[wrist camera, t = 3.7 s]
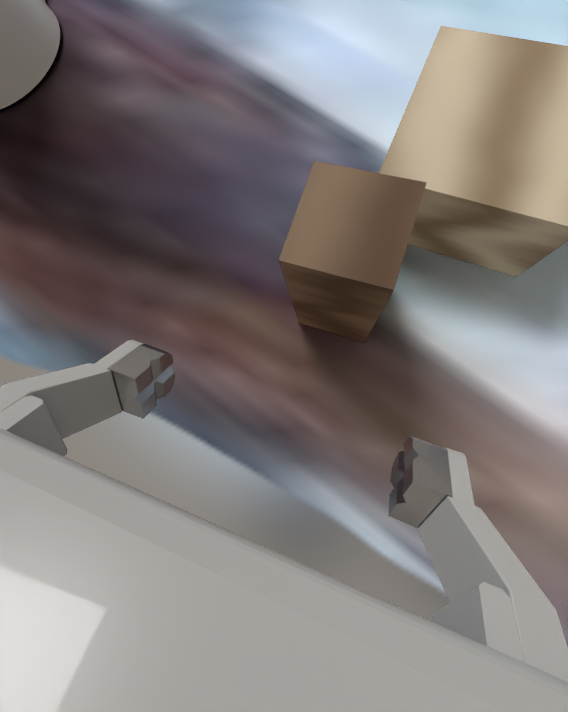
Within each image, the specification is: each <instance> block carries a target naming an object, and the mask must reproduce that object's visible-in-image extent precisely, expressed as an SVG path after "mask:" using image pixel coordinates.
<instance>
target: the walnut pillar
mask: <svg viewBox="0 0 568 712" xmlns="http://www.w3.org/2000/svg"><path fill="white" fill-rule="evenodd" d="M426 183H427V182H422V181H417V180H412V179H406V178H401V177H396V176H391V175H385V174H380V173H375V172H369V171H364V170H359V169H354V168H348V167H343V166H338V165H333V164H327V163H322V162H317V161H314V163H313V166H312V169H311V171H310V174H309V177H308V180H307V183H306V185H305V188H304V191H303V194H302V196H301V199H300V202H299V205H298V208H297V210H296V213H295V216H294V219H293V221H292V224H291V227H290V230H289V233H288V235H287V238H286V241H285V244H284V247H283V249H282V252H281V255H280V258H279V263H280V266H281V269H282V272H283V275H284V279H285V282H286V285H287V288H288V291H289V294H290V297H291V300H292V303H293V306H294V309H295V312H296V315H297V318H298V321H299V323H300V324H303V325H307V326H310V327H313V328H317V329H320V330H324V331H327V332H330V333H334V334H337V335H341V336H344V337H347V338H351V339H354V340H358V341H361V342H365V341H366V339H367V337H368V335H369V334H370V332H371V330H372V328H373V326H374V325H375V323H376V321H377V319H378V317H379V316H380V314H381V312H382V310H383V308H384V307H385V305H386V303H387V301H388V299H389V298H390V296H391V294H392V292H393V290H394V287H395V284H396V281H397V278H398V274H399V271H400V268H401V265H402V261H403V258H404V255H405V252H406V248H407V245H408V242H409V239H410V235H411V232H412V229H413V225H414V222H415V219H416V216H417V212H418V209H419V206H420V203H421V199H422V196H423V193H424V190H425V186H426Z"/></svg>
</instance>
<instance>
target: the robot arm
mask: <svg viewBox="0 0 568 712" xmlns="http://www.w3.org/2000/svg"><path fill="white" fill-rule="evenodd" d="M59 43H60V27H59V23H58V20H57V18H56V16H55V14H54V13H53V12H52V11H51V9H50V8H49V7H48V6H47V4H46V2H45V0H0V109H2V108H5V107H7V106H9V105H11V104H13V103H14V102H16V101H18V100H19V99H21V98H22V97H24V96H25V95H26V94H27V93H29V92H30V91H31V90H32V89H33V88H34V87H35V86H36V85H37V84H38V83H39V82H40V81H41V80H42V78H43V77H44V76H45V74H46V73H47V72H48V70H49V68H50V67H51V65H52V63H53V61H54V59H55V57H56V54H57V51H58V47H59ZM172 363H173V357H172V355H171V354H170V353H168V352H165V351H163V350H160V349H157V348H155V347H152V346H149V345H147V344H143V343H141V342H138V341H135V340H128V341H126V342H125V343H124V344H122V345H121V346H119V347H118V348H116V349H115V350H113V351H112V352H111V353H109V354H108V355H106V356H105V357H103V358H102V359H100V360H99V361H98V362H96V363H95V364H92V363H87V364H83V365H79V366H75V367H71V368H67V369H63V370H58V371H54V372H50V373H46V374H42V375H38V376H34V377H29V378H25V379H21V380H17V381H13V382H9V383H5V384H4V385H2V386H0V712H568V647H567V644H566V641H565V637H564V634H563V631H562V627H561V624H560V621H559V618H558V614H557V611H556V609H555V608H554V607H553V605H552V604H551V602H550V601H549V600H548V598H547V597H546V596H545V594H544V593H543V592H542V590H541V589H540V588H539V586H538V585H537V584H536V582H535V581H534V580H533V578H532V577H531V576H530V574H529V573H528V571H527V570H526V569H525V567H524V566H523V565H522V563H521V562H520V561H519V559H518V558H517V557H516V555H515V554H514V553H513V551H512V550H511V549H510V547H509V546H508V544H507V543H506V542H505V540H504V539H503V538H502V536H501V535H500V534H499V532H498V531H497V530H496V528H495V527H494V526H493V524H492V523H491V522H490V520H489V519H488V518H487V516H486V515H485V513H484V512H483V511H482V509H481V508H479V507H476V506H475V504H474V498H473V493H472V487H471V482H470V476H469V470H468V465H467V459H466V456H465V455H464V454H463V453H460V452H457V451H454V450H451V449H448V448H444V447H442V446H439V445H436V444H433V443H430V442H427V441H424V440H421V439H418V438H415V437H412V436H410V437H409V438H407V440H406V442H405V443H404V451H402V452H399V453H398V455H397V457H396V458H395V461H394V464H393V467H392V472H391V483H392V485H393V487H394V489H393V490H392V492H391V493H390V497H389V515H388V516H391V517H393V518H395V519H398V520H400V521H402V522H405V523H407V524H409V525H412V526H414V527H416V528H418V529H417V530H418V532H419V534H420V537H421V539H422V541H423V543H424V545H425V548H426V550H427V552H428V554H429V557H430V559H431V561H432V563H433V565H434V568H435V570H436V572H437V574H438V577H439V579H440V581H441V583H442V585H443V588H444V590H445V592H446V594H447V596H448V599H449V601H450V604H448V605H447V606H445V607H444V608H442V609H441V610H439V611H438V612H436V613H435V614H433V615H432V621H430V620H428V619H425V618H423V617H421V616H419V615H417V614H414V613H412V612H410V611H408V610H405V609H403V608H401V607H399V606H396V605H394V604H392V603H390V602H387V601H385V600H383V599H381V598H378V597H376V596H374V595H372V594H370V593H367V592H365V591H363V590H361V589H359V588H356V587H354V586H352V585H350V584H347V583H345V582H343V581H341V580H338V579H336V578H334V577H332V576H329V575H327V574H325V573H323V572H320V571H318V570H316V569H314V568H311V567H309V566H307V565H305V564H303V563H300V562H298V561H296V560H294V559H292V558H289V557H287V556H285V555H282V554H280V553H278V552H276V551H274V550H272V549H269V548H267V547H265V546H263V545H260V544H258V543H256V542H254V541H251V540H249V539H247V538H245V537H242V536H240V535H238V534H236V533H234V532H231V531H229V530H227V529H225V528H222V527H220V526H218V525H216V524H214V523H211V522H209V521H207V520H205V519H202V518H200V517H198V516H196V515H193V514H191V513H189V512H187V511H184V510H182V509H180V508H178V507H175V506H173V505H171V504H169V503H166V502H164V501H162V500H160V499H158V498H155V497H153V496H151V495H149V494H147V493H144V492H142V491H140V490H137V489H135V488H133V487H131V486H129V485H126V484H124V483H122V482H120V481H117V480H115V479H113V478H111V477H108V476H106V475H104V474H102V473H99V472H97V471H95V470H93V469H91V468H88V467H86V466H84V465H82V464H80V463H77V462H75V461H73V460H71V459H68V458H66V457H64V456H65V455H66V454H67V448H66V446H65V444H64V442H63V440H62V439H63V438H65V437H68V436H70V435H72V434H74V433H76V432H79V431H81V430H83V429H85V428H88V427H90V426H92V425H94V424H96V423H99V422H101V421H103V420H105V419H108V418H110V417H112V416H114V415H116V414H119V413H121V412H122V411H124V412H127V413H130V414H133V415H135V416H138V417H141V418H145V417H146V416H147V415H148V414H149V413H150V411H151V410H152V409H153V408H154V407H155V406H156V405H157V399H160V398H163V397H165V396H166V395H167V394H168V393H169V392H170V390H171V388H172V386H173V384H174V380H175V374H174V371H173V370H172V368H171V367H170V365H171V364H172Z"/></svg>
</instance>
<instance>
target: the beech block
mask: <svg viewBox="0 0 568 712" xmlns="http://www.w3.org/2000/svg"><path fill="white" fill-rule="evenodd" d="M379 173H380V174H385V175H391V176H396V177H401V178H406V179H412V180H417V181H422V182H427V183H426V186H425V190H424V193H423V196H422V199H421V203H420V206H419V209H418V212H417V216H416V219H415V222H414V225H413V229H412V232H411V235H410V239H409V242H408V244H409V245H412V246H416V247H419V248H422V249H426V250H429V251H432V252H435V253H439V254H442V255H445V256H449V257H452V258H455V259H459V260H462V261H465V262H469V263H472V264H475V265H478V266H482V267H485V268H488V269H492V270H495V271H498V272H502V273H505V274H508V275H511V276H515V277H517V276H518V275H520V274H521V273H523V272H524V271H526V270H527V269H528V268H530V267H531V266H533V265H534V264H535V263H537V262H538V261H540V260H541V259H543V258H544V257H545V256H547V255H548V254H550V253H551V252H553V251H554V250H555V249H557V248H558V247H560V246H561V245H563V244H564V243H565V242H567V241H568V46H563V45H557V44H550V43H544V42H538V41H532V40H526V39H519V38H513V37H507V36H501V35H494V34H488V33H482V32H476V31H470V30H463V29H457V28H451V27H445V26H441V27H440V30H439V32H438V34H437V37H436V39H435V42H434V44H433V46H432V49H431V51H430V53H429V56H428V58H427V60H426V63H425V65H424V68H423V70H422V72H421V75H420V77H419V79H418V82H417V84H416V86H415V89H414V91H413V94H412V96H411V98H410V101H409V103H408V105H407V108H406V110H405V113H404V115H403V117H402V120H401V122H400V124H399V127H398V129H397V131H396V134H395V136H394V139H393V141H392V143H391V146H390V148H389V150H388V153H387V155H386V157H385V160H384V162H383V165H382V167H381V169H380V172H379Z"/></svg>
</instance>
